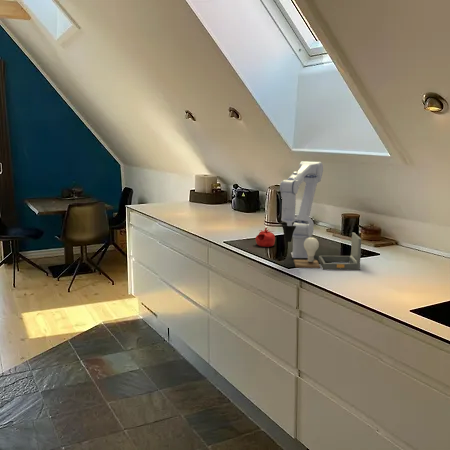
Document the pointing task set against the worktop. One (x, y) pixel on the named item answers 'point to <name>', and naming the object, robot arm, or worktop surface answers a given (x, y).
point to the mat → (306, 264)
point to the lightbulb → (311, 247)
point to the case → (344, 257)
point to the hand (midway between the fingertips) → (287, 239)
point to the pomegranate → (265, 238)
